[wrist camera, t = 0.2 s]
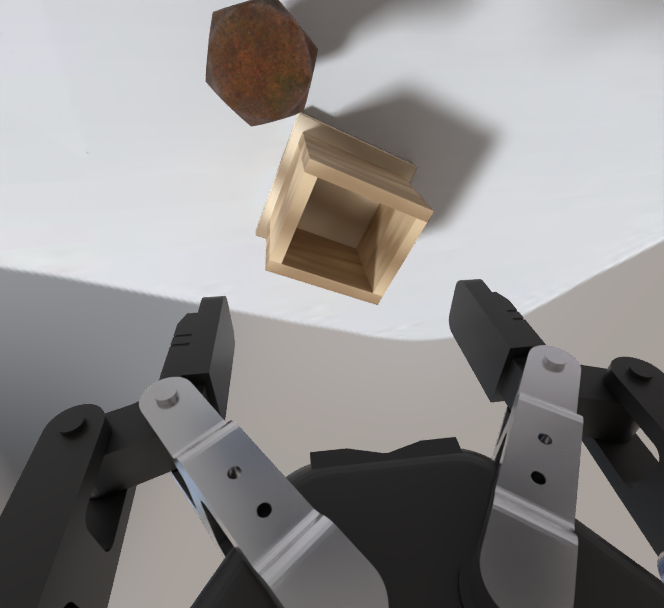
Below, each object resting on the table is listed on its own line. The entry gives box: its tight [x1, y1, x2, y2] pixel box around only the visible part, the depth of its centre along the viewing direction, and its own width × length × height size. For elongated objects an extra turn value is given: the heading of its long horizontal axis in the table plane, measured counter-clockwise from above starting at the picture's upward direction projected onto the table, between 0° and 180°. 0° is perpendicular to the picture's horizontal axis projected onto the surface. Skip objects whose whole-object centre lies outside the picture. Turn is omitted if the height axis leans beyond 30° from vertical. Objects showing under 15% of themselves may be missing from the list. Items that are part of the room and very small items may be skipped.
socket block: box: [256, 112, 434, 305], centre depth 35 cm, size 12×12×10 cm
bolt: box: [206, 0, 318, 126], centre depth 25 cm, size 6×5×15 cm
